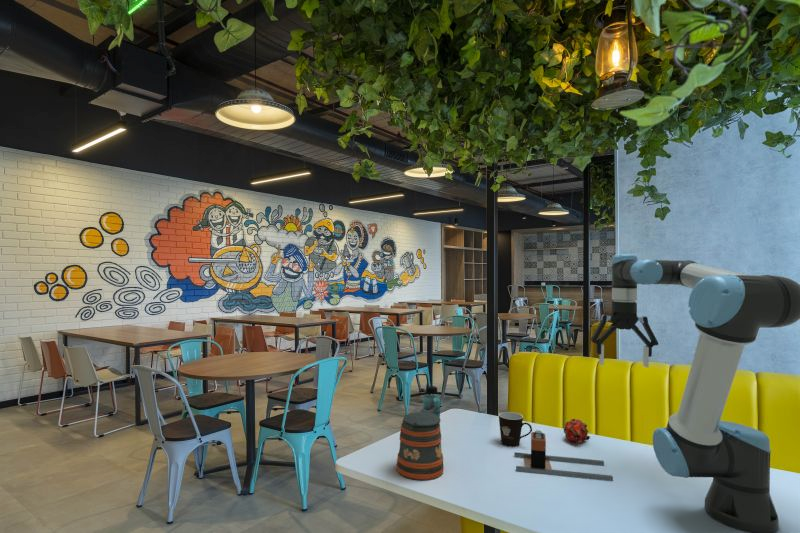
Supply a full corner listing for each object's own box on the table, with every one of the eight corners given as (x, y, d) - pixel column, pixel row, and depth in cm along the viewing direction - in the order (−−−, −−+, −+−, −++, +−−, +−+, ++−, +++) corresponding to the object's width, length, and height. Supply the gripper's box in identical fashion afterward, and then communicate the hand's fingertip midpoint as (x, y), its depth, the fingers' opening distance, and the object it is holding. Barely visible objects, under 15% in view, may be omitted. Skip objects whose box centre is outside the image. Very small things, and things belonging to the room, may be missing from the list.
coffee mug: (493, 440, 166) (493, 413, 166) (512, 437, 169) (512, 410, 170) (513, 452, 155) (514, 423, 155) (533, 449, 159) (534, 420, 159)
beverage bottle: (419, 444, 161) (420, 388, 161) (424, 438, 167) (425, 383, 168) (437, 447, 159) (438, 390, 159) (441, 440, 165) (442, 385, 166)
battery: (544, 461, 148) (545, 430, 148) (545, 469, 141) (545, 437, 141) (530, 459, 149) (531, 428, 149) (530, 467, 142) (531, 435, 143)
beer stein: (408, 452, 154) (409, 393, 154) (451, 458, 149) (452, 398, 150) (390, 476, 136) (391, 409, 136) (437, 484, 131) (438, 415, 132)
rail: (612, 480, 135) (612, 476, 135) (516, 471, 141) (516, 467, 141) (603, 464, 147) (603, 460, 147) (514, 455, 153) (514, 452, 153)
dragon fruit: (576, 439, 173) (579, 456, 162) (557, 425, 174) (558, 440, 163) (591, 424, 171) (594, 439, 159) (572, 409, 172) (574, 424, 161)
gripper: (661, 301, 151) (660, 365, 151) (582, 299, 156) (581, 361, 156) (669, 302, 144) (669, 369, 144) (586, 300, 149) (585, 365, 148)
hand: (623, 365), depth 150 cm, fingers open, 13 cm apart
